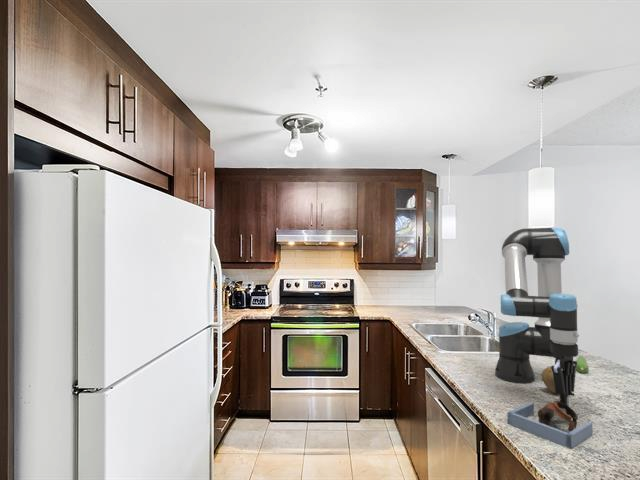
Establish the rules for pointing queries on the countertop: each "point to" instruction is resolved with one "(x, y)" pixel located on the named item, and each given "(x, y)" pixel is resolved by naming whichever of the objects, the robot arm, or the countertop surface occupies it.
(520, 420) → the blue-grey u-shaped frame
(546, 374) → the natural sponge
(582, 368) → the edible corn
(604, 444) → the countertop surface
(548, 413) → the brown curved ring piece
